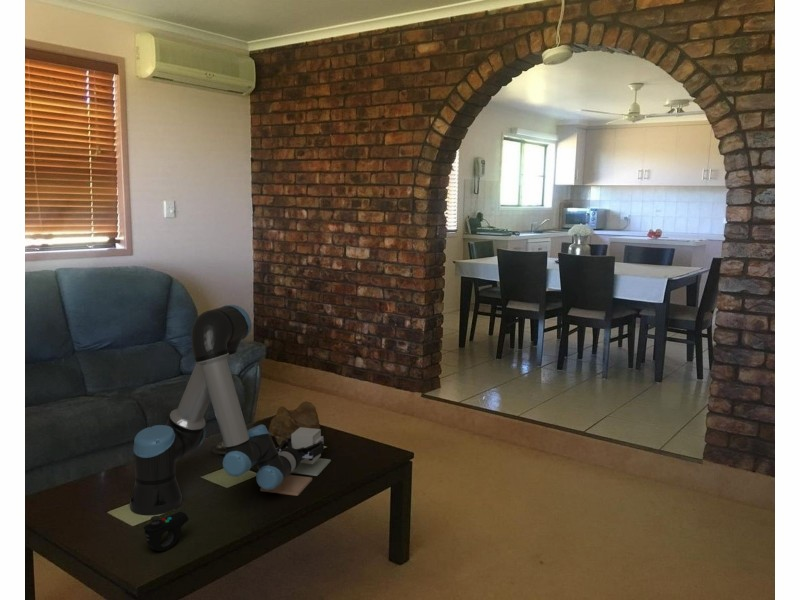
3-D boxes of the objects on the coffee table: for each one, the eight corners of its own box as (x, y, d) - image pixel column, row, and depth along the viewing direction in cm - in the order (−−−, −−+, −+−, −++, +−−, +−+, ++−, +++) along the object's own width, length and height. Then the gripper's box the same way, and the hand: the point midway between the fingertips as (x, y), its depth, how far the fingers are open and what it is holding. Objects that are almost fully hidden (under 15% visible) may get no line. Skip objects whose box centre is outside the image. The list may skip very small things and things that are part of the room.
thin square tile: (297, 495, 209) (297, 493, 209) (260, 491, 212) (260, 488, 212) (312, 479, 222) (312, 477, 222) (276, 475, 225) (276, 473, 225)
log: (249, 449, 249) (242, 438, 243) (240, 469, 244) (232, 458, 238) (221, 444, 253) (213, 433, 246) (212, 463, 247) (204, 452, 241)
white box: (312, 464, 228) (312, 436, 227) (291, 461, 230) (291, 434, 229) (320, 455, 236) (320, 429, 235) (300, 453, 238) (299, 427, 236)
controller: (142, 554, 172) (140, 519, 171) (181, 536, 182) (180, 502, 181) (152, 559, 170) (150, 523, 168) (191, 540, 180) (190, 506, 179)
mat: (317, 475, 225) (317, 474, 225) (279, 471, 228) (279, 469, 228) (330, 461, 239) (330, 459, 238) (295, 456, 242) (295, 455, 242)
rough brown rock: (294, 458, 242) (297, 420, 240) (261, 445, 251) (264, 408, 249) (333, 443, 262) (336, 407, 259) (302, 431, 270) (305, 396, 268)
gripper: (257, 469, 218) (284, 445, 240) (315, 475, 213) (338, 451, 235) (256, 447, 217) (284, 426, 239) (315, 453, 212) (338, 431, 234)
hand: (311, 438), depth 237 cm, fingers closed on white box, 8 cm apart
